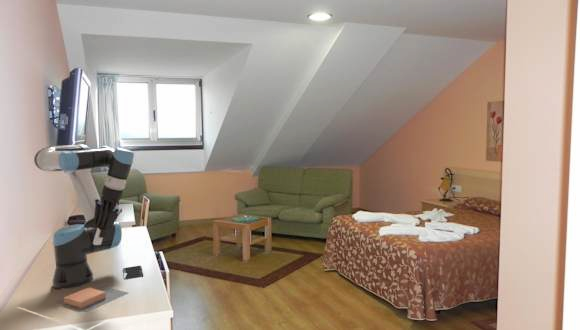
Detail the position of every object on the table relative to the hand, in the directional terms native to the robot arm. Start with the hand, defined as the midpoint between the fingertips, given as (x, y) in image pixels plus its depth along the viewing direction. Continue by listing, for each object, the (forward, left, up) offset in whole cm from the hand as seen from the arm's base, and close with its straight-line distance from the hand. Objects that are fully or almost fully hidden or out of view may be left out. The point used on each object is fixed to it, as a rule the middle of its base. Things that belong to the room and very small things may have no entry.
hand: (96, 244), depth 167 cm
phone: (-8, +16, -19) cm, 26 cm away
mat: (+8, -5, -18) cm, 21 cm away
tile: (+8, -3, -17) cm, 18 cm away
